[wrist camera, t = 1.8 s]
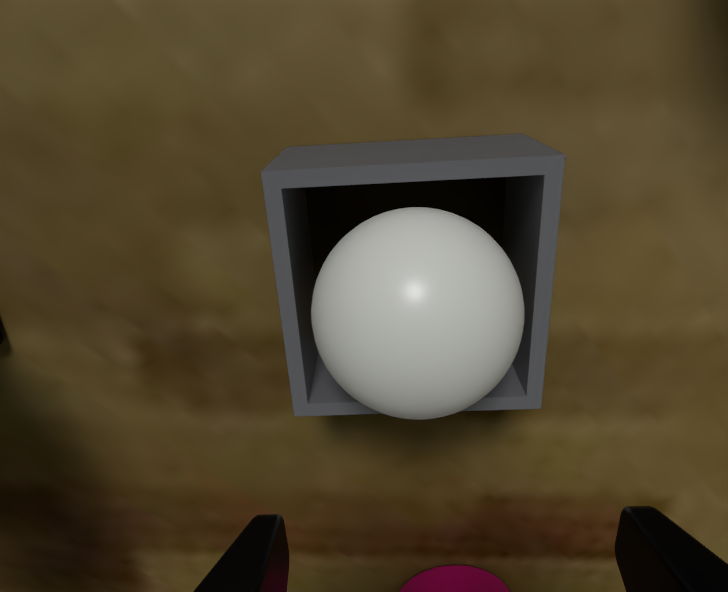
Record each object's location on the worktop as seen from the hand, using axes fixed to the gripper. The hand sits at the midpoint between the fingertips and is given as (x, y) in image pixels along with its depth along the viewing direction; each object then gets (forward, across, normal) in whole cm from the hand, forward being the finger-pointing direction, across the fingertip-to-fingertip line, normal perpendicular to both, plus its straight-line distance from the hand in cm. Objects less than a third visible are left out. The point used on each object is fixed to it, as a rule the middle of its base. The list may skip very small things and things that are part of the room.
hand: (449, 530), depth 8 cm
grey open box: (+13, 0, 0) cm, 13 cm away
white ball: (+11, 0, 0) cm, 11 cm away
